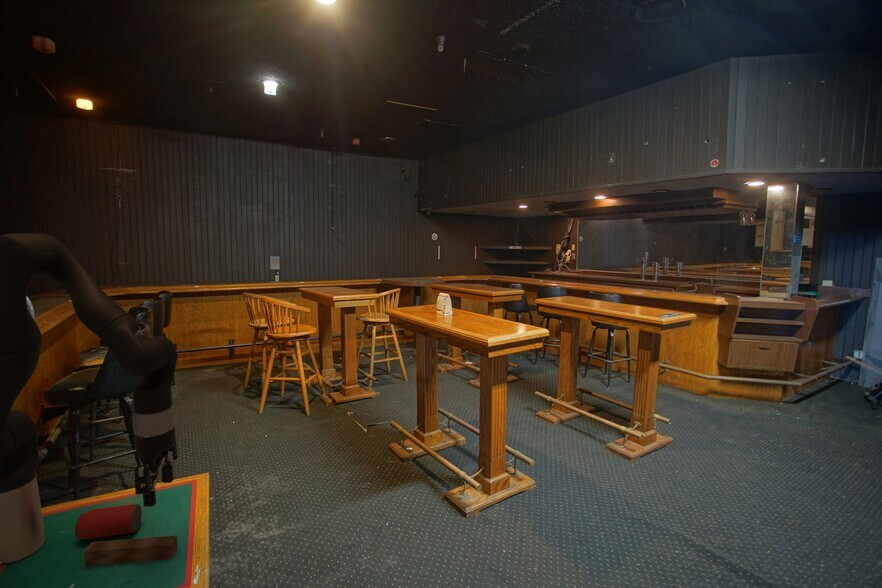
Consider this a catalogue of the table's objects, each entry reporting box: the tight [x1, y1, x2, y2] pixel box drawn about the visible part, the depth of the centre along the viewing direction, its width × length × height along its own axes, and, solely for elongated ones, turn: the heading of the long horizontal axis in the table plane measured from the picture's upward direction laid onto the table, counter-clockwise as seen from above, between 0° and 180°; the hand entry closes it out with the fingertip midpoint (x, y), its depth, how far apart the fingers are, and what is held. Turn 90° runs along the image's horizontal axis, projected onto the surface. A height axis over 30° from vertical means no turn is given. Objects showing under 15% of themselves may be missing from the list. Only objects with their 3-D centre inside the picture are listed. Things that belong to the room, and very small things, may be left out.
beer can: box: [74, 503, 143, 540], centre depth 106 cm, size 7×7×12 cm
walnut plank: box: [83, 535, 179, 567], centre depth 99 cm, size 18×3×4 cm, turn 99°
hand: (159, 493), depth 98 cm, fingers open, 8 cm apart
